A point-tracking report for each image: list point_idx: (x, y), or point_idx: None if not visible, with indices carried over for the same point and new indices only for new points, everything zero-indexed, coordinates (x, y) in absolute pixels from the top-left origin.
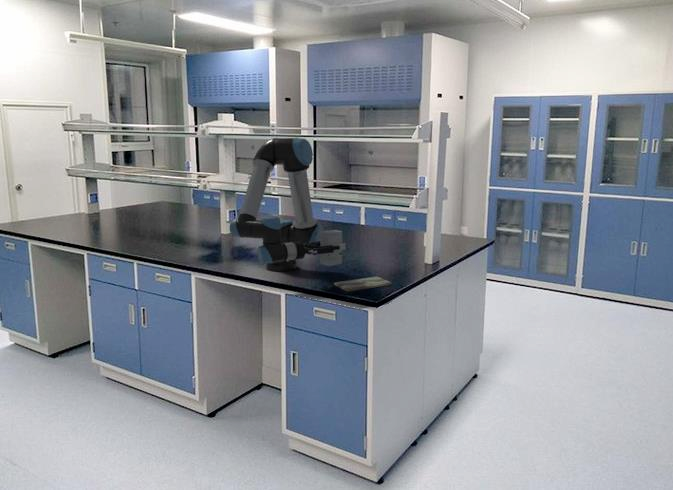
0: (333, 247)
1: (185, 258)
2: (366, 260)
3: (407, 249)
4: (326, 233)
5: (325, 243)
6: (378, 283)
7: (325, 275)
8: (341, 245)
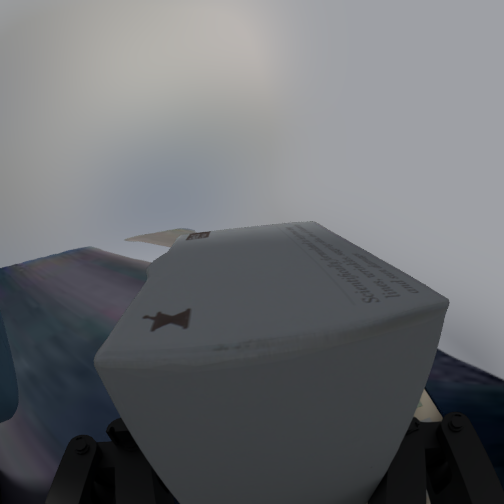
0: (457, 417)
1: None
2: None
3: (132, 269)
4: (425, 321)
5: (350, 479)
6: None
7: None
8: None
